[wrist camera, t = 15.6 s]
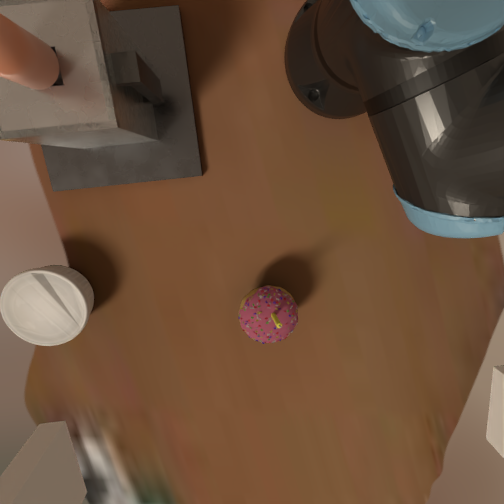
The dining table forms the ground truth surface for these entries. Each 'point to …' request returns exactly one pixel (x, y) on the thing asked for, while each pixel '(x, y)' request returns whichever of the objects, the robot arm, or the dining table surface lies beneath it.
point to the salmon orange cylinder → (26, 57)
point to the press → (105, 95)
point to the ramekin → (47, 304)
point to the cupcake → (268, 314)
